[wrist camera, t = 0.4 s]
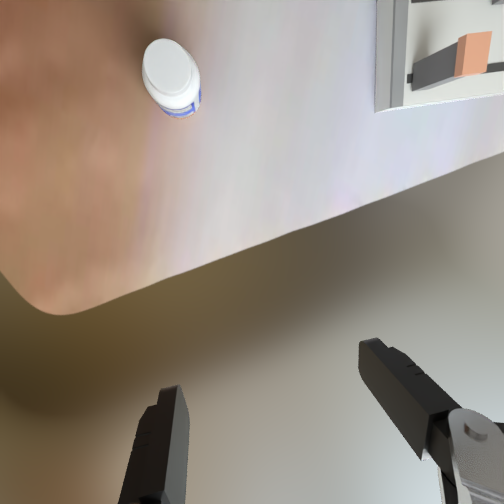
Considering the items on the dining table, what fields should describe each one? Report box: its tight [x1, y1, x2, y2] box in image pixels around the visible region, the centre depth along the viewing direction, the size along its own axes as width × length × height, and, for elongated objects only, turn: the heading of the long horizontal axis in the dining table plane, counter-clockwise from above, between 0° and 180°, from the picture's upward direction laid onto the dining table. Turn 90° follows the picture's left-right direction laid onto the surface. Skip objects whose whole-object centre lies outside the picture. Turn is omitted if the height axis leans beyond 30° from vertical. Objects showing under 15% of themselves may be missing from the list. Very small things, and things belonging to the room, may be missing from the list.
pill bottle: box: [142, 38, 201, 119], centre depth 26 cm, size 5×5×10 cm
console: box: [375, 0, 504, 113], centre depth 32 cm, size 14×22×3 cm, turn 98°
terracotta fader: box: [412, 31, 492, 92], centre depth 28 cm, size 3×3×7 cm
